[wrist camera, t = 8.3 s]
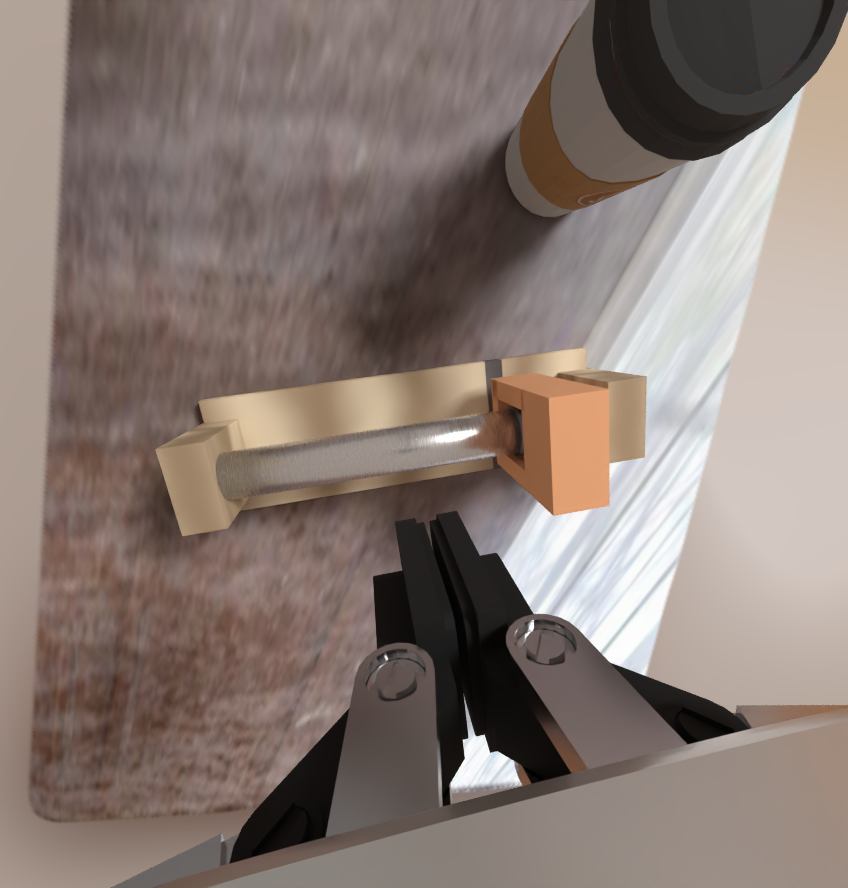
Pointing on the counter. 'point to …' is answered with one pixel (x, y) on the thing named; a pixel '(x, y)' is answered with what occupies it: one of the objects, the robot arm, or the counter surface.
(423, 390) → the beige long frame
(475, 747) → the counter surface
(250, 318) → the counter surface
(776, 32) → the coffee cup
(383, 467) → the pipe
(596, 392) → the collar
